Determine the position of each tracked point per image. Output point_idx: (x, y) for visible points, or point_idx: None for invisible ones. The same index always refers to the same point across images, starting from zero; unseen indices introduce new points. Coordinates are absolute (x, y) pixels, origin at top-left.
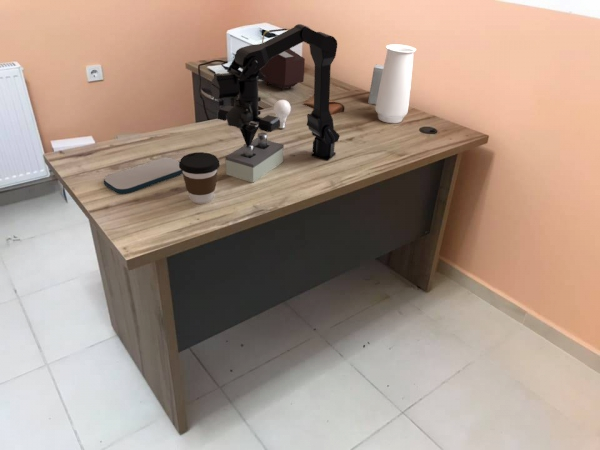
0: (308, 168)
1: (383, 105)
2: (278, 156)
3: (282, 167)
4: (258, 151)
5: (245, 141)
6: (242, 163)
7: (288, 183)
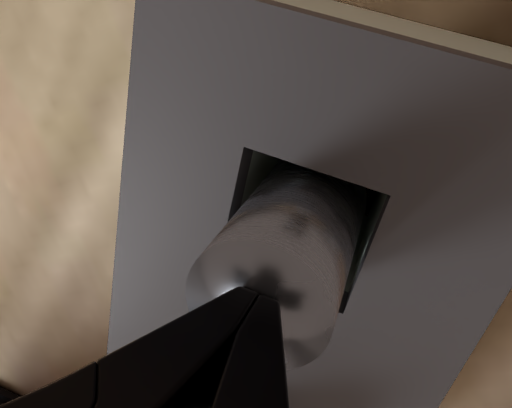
0: (18, 292)
1: None
2: None
3: None
4: None
5: (270, 339)
6: (309, 11)
7: (14, 68)
